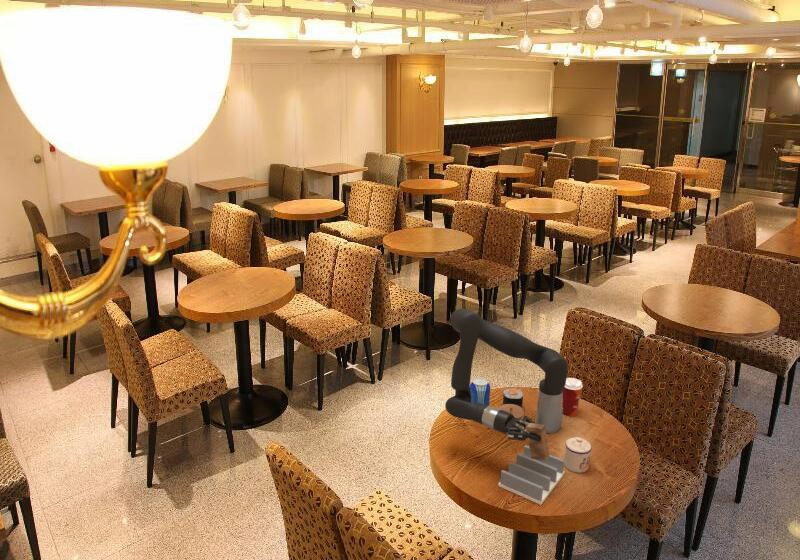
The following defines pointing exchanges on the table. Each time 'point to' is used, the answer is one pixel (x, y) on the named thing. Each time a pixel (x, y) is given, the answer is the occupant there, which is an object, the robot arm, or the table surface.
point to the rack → (532, 476)
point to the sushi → (513, 397)
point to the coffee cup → (571, 396)
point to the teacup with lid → (577, 454)
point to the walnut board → (538, 448)
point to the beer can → (480, 391)
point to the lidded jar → (513, 410)
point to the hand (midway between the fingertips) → (542, 436)
